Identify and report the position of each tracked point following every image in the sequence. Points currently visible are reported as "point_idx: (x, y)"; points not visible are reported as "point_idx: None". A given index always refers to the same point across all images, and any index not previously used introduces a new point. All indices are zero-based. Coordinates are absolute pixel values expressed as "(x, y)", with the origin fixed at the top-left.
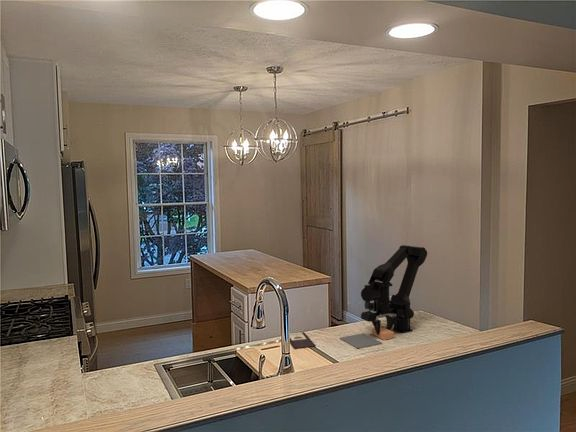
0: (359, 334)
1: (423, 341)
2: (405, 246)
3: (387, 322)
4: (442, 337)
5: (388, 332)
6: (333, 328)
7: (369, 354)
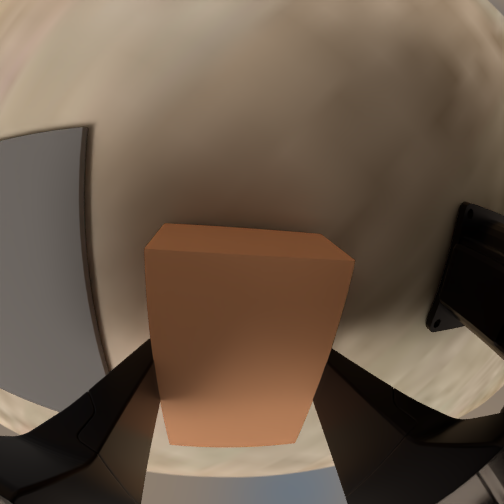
0: (29, 151)
1: None
2: None
3: (376, 429)
4: None
5: (240, 440)
6: None
7: None
